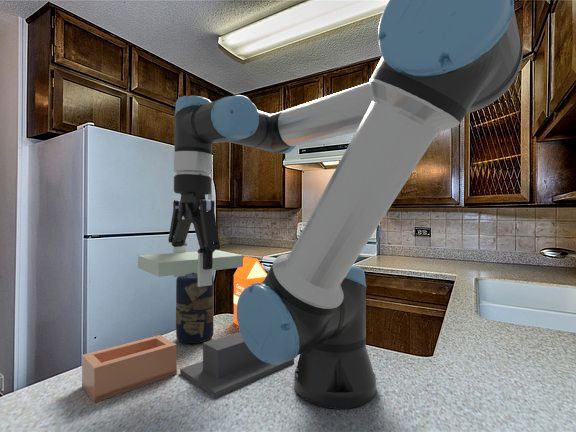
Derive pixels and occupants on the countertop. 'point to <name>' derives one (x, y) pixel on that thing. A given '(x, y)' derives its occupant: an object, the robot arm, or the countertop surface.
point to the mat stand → (228, 366)
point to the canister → (193, 309)
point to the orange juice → (246, 278)
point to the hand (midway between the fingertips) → (191, 280)
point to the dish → (128, 367)
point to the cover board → (185, 262)
